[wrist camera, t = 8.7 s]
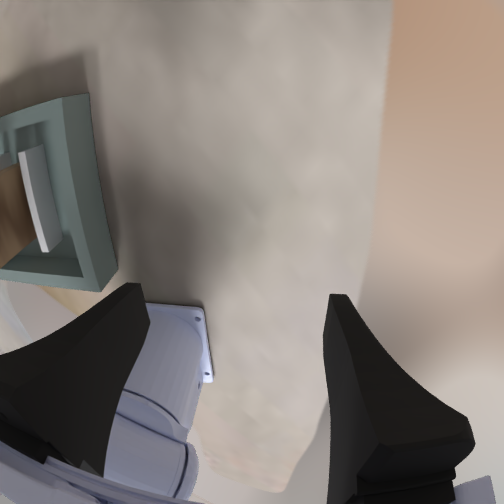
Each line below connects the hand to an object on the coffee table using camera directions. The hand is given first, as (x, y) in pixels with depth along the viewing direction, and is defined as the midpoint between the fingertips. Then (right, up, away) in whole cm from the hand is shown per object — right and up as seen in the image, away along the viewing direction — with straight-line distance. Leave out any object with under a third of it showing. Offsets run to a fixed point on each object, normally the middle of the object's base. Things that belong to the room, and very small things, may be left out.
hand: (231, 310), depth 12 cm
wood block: (-17, +7, +9) cm, 21 cm away
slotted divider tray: (-17, +7, +10) cm, 21 cm away
